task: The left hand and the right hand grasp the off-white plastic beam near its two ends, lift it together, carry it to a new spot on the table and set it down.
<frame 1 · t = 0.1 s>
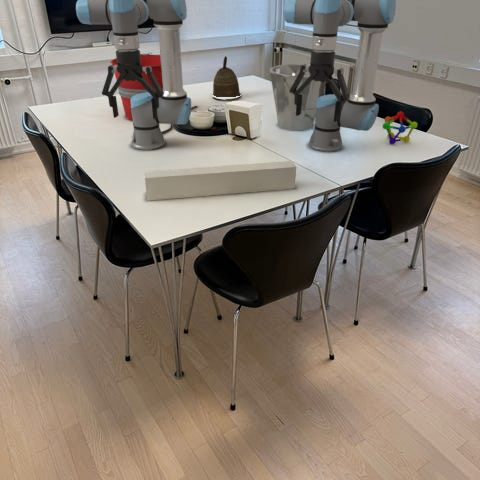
left hand: (135, 117, 150), 28 cm above the table, tool pointing down, fingers open, 13 cm apart
right hand: (316, 117, 150), 28 cm above the table, tool pointing down, fingers open, 13 cm apart
beam: (221, 191, 165), on the table
educational toy: (395, 143, 211), on the table
bucket: (295, 125, 233), on the table
bucket 2: (148, 115, 247), on the table
bell: (226, 97, 281), on the table
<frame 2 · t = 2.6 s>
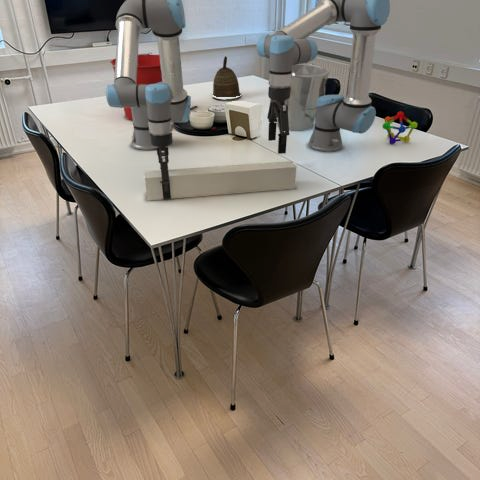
left hand: (166, 194, 162), 0 cm above the table, tool pointing down, fingers closed on beam, 6 cm apart
right hand: (276, 146, 160), 16 cm above the table, tool pointing down, fingers open, 13 cm apart
beam: (221, 191, 165), on the table, touching left hand
everything else where it was.
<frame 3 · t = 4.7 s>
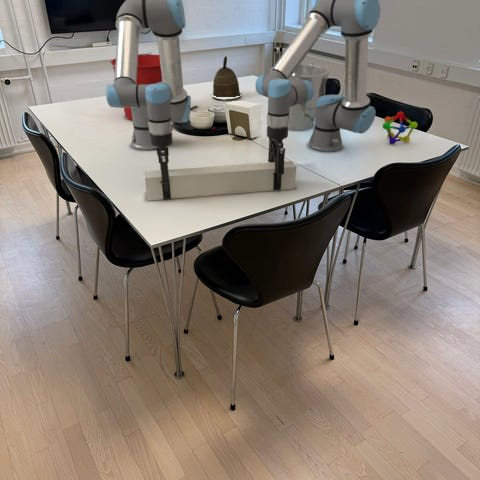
left hand: (166, 194, 162), 0 cm above the table, tool pointing down, fingers closed on beam, 6 cm apart
right hand: (274, 185, 168), 0 cm above the table, tool pointing down, fingers closed on beam, 6 cm apart
beam: (221, 191, 165), on the table, touching left hand, right hand
everything else where it was.
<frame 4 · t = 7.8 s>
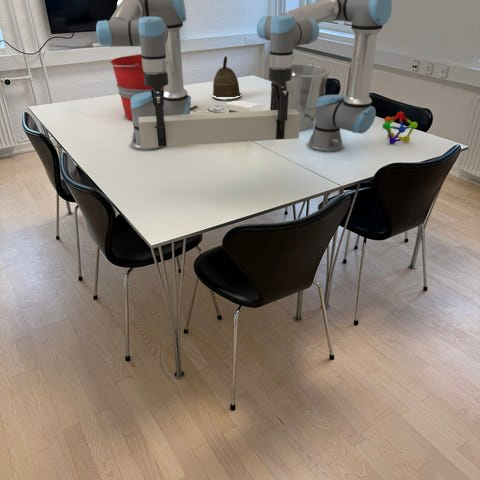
left hand: (162, 142, 152), 20 cm above the table, tool pointing down, fingers closed on beam, 6 cm apart
right hand: (277, 135, 158), 20 cm above the table, tool pointing down, fingers closed on beam, 6 cm apart
beam: (221, 140, 155), point 20 cm above the table, touching left hand, right hand
everything else where it was.
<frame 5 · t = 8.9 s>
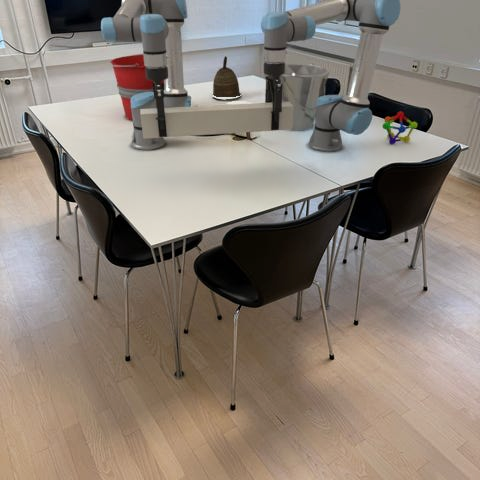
left hand: (162, 133, 160), 20 cm above the table, tool pointing down, fingers closed on beam, 6 cm apart
right hand: (272, 126, 167), 20 cm above the table, tool pointing down, fingers closed on beam, 6 cm apart
beam: (218, 131, 164), point 19 cm above the table, touching left hand, right hand
everything else where it was.
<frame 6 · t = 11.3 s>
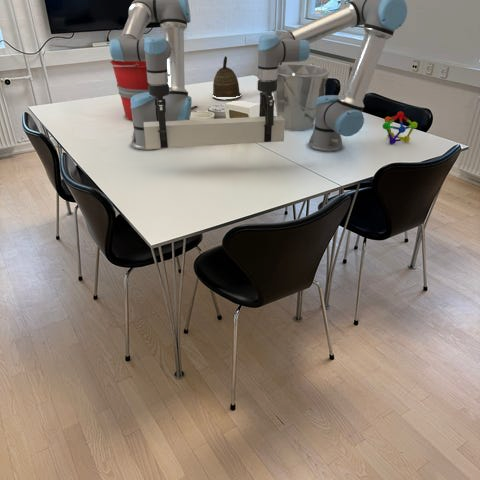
left hand: (163, 144, 173), 12 cm above the table, tool pointing down, fingers closed on beam, 6 cm apart
right hand: (265, 138, 180), 12 cm above the table, tool pointing down, fingers closed on beam, 6 cm apart
beam: (215, 142, 177), point 11 cm above the table, touching left hand, right hand
everything else where it was.
when the left hand's fingers open (2 cm above the table, at t = 13.1 s): beam drops 1 cm, on the table.
when the right hand's fingers open (2 cm above the table, at t = 13.1 s): beam drops 1 cm, on the table.
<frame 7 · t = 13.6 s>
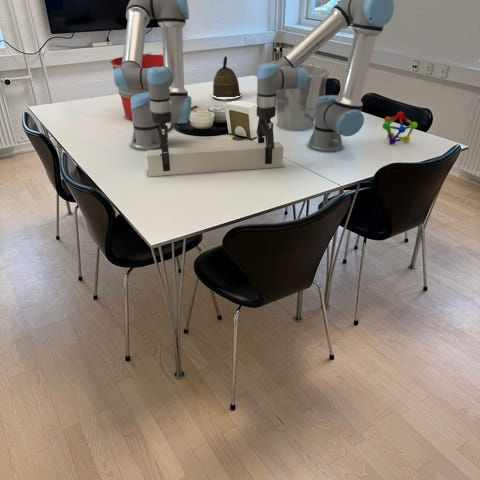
left hand: (165, 164, 178), 3 cm above the table, tool pointing down, fingers open, 12 cm apart
right hand: (264, 157, 185), 3 cm above the table, tool pointing down, fingers open, 12 cm apart
beam: (216, 168, 183), on the table
everything else where it was.
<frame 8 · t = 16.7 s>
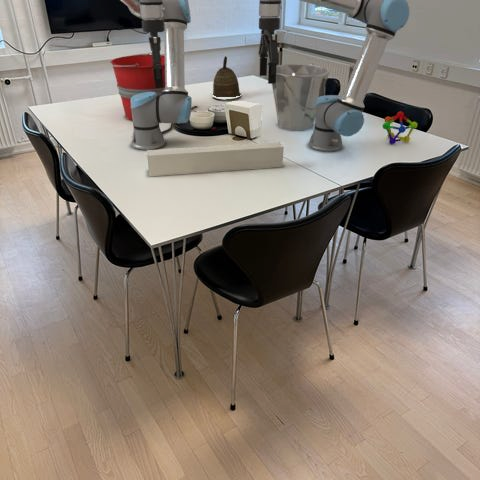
left hand: (158, 83, 161), 35 cm above the table, tool pointing down, fingers open, 13 cm apart
right hand: (267, 79, 168), 35 cm above the table, tool pointing down, fingers open, 13 cm apart
nothing on the table moved.
at the end: beam inside the target area (0.1 cm from its centre), on the table; beam tilted 0°; beam never tilted more than 1° during the clip; both hands held the beam at the same time; the left hand is holding nothing; the right hand is holding nothing; beam at rest at the end (0.0 cm/s) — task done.
